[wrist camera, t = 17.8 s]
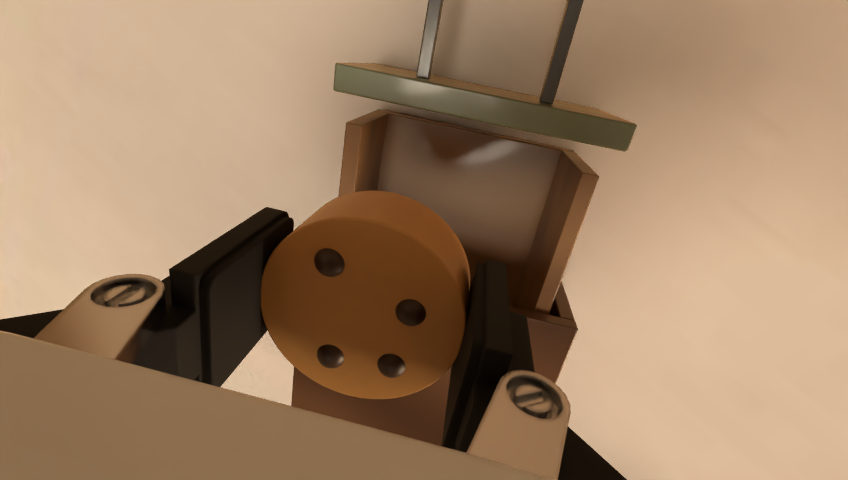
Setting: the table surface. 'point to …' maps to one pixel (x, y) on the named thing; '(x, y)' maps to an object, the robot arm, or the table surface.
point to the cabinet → (439, 383)
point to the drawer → (483, 160)
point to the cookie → (369, 295)
